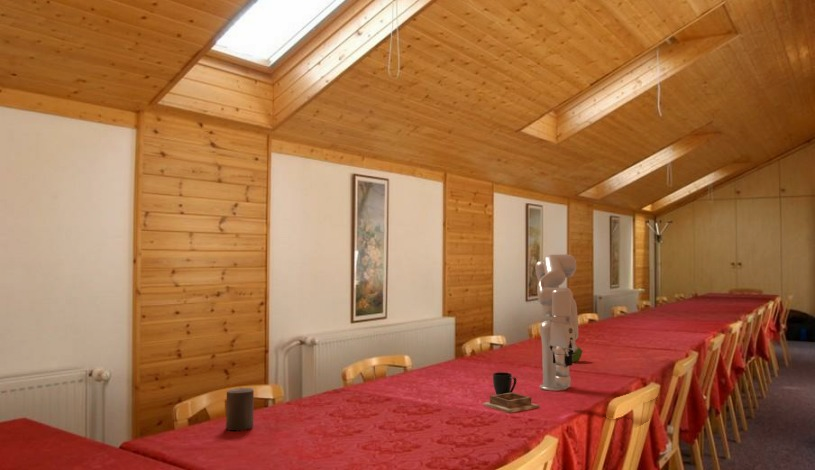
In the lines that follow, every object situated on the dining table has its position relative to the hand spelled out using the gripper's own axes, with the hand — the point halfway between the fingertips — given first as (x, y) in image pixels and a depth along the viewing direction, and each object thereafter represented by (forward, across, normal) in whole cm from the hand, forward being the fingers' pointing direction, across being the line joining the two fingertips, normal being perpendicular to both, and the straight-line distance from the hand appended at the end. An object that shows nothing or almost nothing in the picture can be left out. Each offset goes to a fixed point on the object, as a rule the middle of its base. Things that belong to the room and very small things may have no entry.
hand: (562, 363), depth 252 cm
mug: (+19, +30, +5) cm, 36 cm away
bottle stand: (+18, +14, +16) cm, 28 cm away
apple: (+21, +77, -86) cm, 118 cm away
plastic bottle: (+10, 0, 0) cm, 10 cm away
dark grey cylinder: (+17, +45, +119) cm, 128 cm away
